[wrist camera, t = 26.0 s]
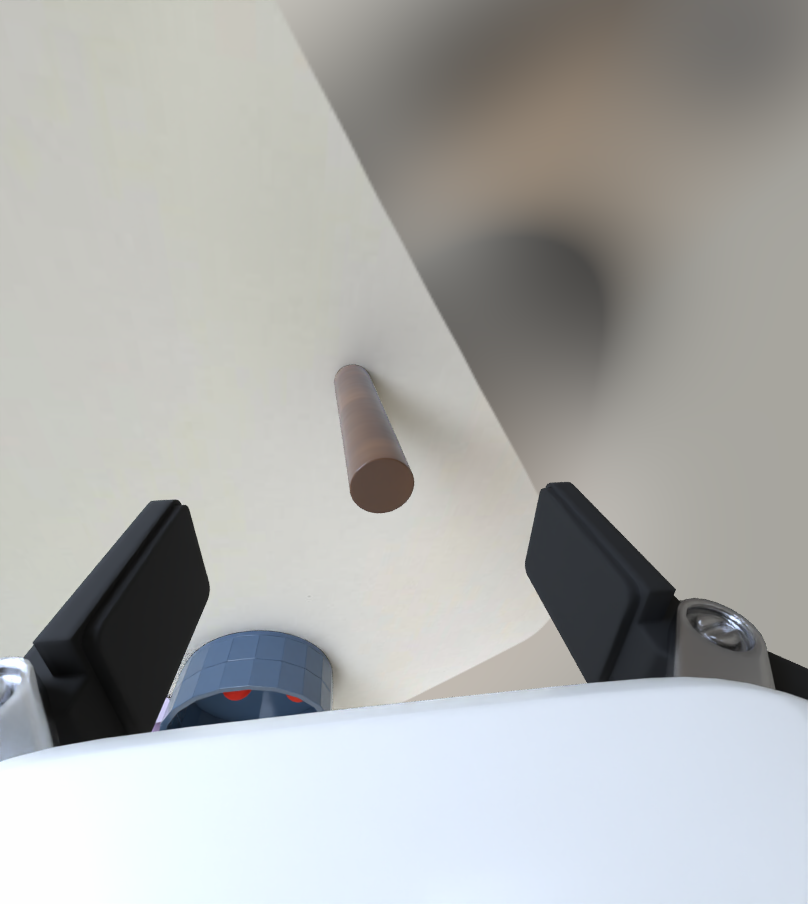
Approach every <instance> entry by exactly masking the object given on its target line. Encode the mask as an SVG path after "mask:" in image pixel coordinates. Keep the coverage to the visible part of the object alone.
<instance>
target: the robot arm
mask: <svg viewBox="0 0 808 904" xmlns="http://www.w3.org/2000/svg"><path fill="white" fill-rule="evenodd" d="M525 569H526V573H527V575H528V577H529V579H530V581H531V583H532V584H533V586H534V588H535V590H536V592H537V593H538V595H539V597H540V599H541V601H542V602H543V604H544V606H545V608H546V610H547V611H548V613H549V615H550V617H551V619H552V621H553V622H554V624H555V626H556V628H557V630H558V631H559V633H560V635H561V637H562V639H563V640H564V642H565V644H566V646H567V647H568V649H569V651H570V653H571V655H572V657H573V658H574V660H575V662H576V663H577V666H578V667H579V669H580V671H581V673H582V675H583V676H584V678H585V680H586V682H587V683H585V684H575V685H565V686H556V687H546V688H538V689H537V688H536V689H527V690H517V691H507V692H498V693H488V694H479V695H469V696H460V697H451V698H442V699H432V700H423V701H414V702H405V703H396V704H387V705H378V706H369V707H360V708H351V709H341V710H332V711H323V712H315V713H306V714H297V715H289V716H280V717H272V718H263V719H254V720H246V721H237V722H228V723H220V724H211V725H202V726H194V727H186V728H179V729H171V730H163V731H156V732H152V730H153V728H154V725H155V723H156V720H157V718H158V716H159V713H160V711H161V709H162V706H163V704H164V702H165V699H166V697H167V694H168V692H169V690H170V687H171V685H172V683H173V680H174V678H175V676H176V673H177V671H178V668H179V666H180V664H181V661H182V659H183V657H184V654H185V652H186V650H187V647H188V645H189V643H190V640H191V638H192V635H193V633H194V631H195V628H196V626H197V624H198V621H199V619H200V617H201V614H202V612H203V609H204V607H205V605H206V602H207V600H208V597H209V591H210V586H209V581H208V577H207V574H206V570H205V566H204V563H203V559H202V555H201V551H200V548H199V544H198V540H197V537H196V533H195V529H194V526H193V522H192V518H191V515H190V511H189V508H188V507H187V506H186V505H181V503H180V502H179V501H178V500H158V501H151V502H150V503H148V505H147V506H146V507H145V508H144V509H143V511H142V512H141V513H140V514H139V515H138V517H137V518H136V519H135V520H134V521H133V523H132V524H131V525H130V526H129V527H128V529H127V530H126V531H125V532H124V533H123V535H122V536H121V537H120V538H119V539H118V541H117V542H116V543H115V544H114V545H113V547H112V548H111V549H110V550H109V551H108V553H107V554H106V555H105V556H104V557H103V559H102V560H101V561H100V562H99V563H98V565H97V566H96V567H95V568H94V569H93V571H92V572H91V573H90V574H89V575H88V577H87V578H86V579H85V580H84V581H83V583H82V584H81V585H80V586H79V587H78V589H77V590H76V591H75V592H74V593H73V595H72V596H71V597H70V598H69V599H68V601H67V602H66V603H65V604H64V605H63V607H62V608H61V609H60V610H59V612H58V613H57V614H56V615H55V616H54V618H53V619H52V620H51V621H50V622H49V624H48V625H47V626H46V627H45V628H44V630H43V631H42V632H41V633H40V634H39V636H38V637H37V638H36V639H35V640H34V642H33V644H34V645H33V647H32V648H31V649H30V650H29V651H28V653H27V654H26V655H25V656H24V658H21V657H4V658H0V904H808V669H807V668H805V667H802V666H800V665H798V664H796V663H793V662H791V661H789V660H786V659H784V658H782V657H780V656H777V655H775V654H773V653H771V652H768V651H767V647H766V643H765V641H764V639H763V637H762V635H761V633H760V632H759V631H758V630H757V629H756V627H755V626H754V625H753V624H752V623H750V622H749V621H748V620H747V619H746V618H744V617H743V616H742V615H740V614H738V613H737V612H735V611H734V610H732V609H730V608H728V607H725V606H724V605H721V604H719V603H716V602H713V601H710V600H706V599H698V598H691V599H686V600H684V601H682V602H680V601H679V600H678V599H677V598H676V597H675V596H674V593H675V590H676V589H675V588H674V587H673V586H672V585H671V584H670V583H669V582H668V581H667V580H666V579H665V578H664V577H663V576H662V575H661V574H660V573H659V572H658V571H657V570H656V569H655V568H654V567H653V566H652V565H651V564H650V563H649V562H648V561H647V560H646V559H645V558H644V556H643V555H642V554H640V552H638V551H637V549H636V548H635V547H634V546H633V545H632V544H631V543H630V542H629V541H628V540H627V539H626V538H625V537H624V536H623V535H622V534H621V533H620V532H619V531H618V530H617V529H616V528H615V527H614V526H613V525H612V524H611V523H610V522H609V521H608V520H607V519H606V518H605V517H604V516H603V515H602V514H601V513H600V512H599V511H598V509H597V508H596V507H594V505H593V504H592V503H591V502H590V501H589V500H588V499H587V498H586V497H585V496H584V495H583V494H582V493H581V492H580V491H579V490H578V489H577V488H576V487H575V486H574V485H573V484H571V483H570V482H558V483H549V484H547V486H546V488H543V489H541V491H540V494H539V499H538V503H537V508H536V513H535V518H534V522H533V527H532V532H531V537H530V541H529V546H528V551H527V556H526V560H525Z"/></svg>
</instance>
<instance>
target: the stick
mask: <svg viewBox="0 0 808 904" xmlns="http://www.w3.org/2000/svg"><path fill="white" fill-rule="evenodd" d="M334 385H335V391H336V398H337V405H338V412H339V419H340V426H341V433H342V440H343V446H344V453H345V460H346V467H347V474H348V481H349V488H350V493H351V496H352V499H353V500H354V502H355V503H356V504H357V505H358V506H359V507H360V508H362V509H364V510H366V511H368V512H372V513H386V512H390V511H393V510H395V509H397V508H399V507H400V506H402V505H403V504H404V503H405V502H406V501H407V500H408V499H409V497H410V496H411V494H412V491H413V488H414V477H413V474H412V472H411V469H410V467H409V465H408V462H407V460H406V458H405V455H404V453H403V451H402V449H401V446H400V444H399V442H398V439H397V437H396V435H395V433H394V430H393V428H392V426H391V423H390V421H389V419H388V416H387V414H386V412H385V410H384V407H383V405H382V403H381V400H380V398H379V396H378V394H377V391H376V389H375V387H374V384H373V382H372V380H371V377H370V375H369V373H368V372H367V371H366V370H365V369H364V368H363V367H361V366H359V365H347V366H344V367H343V368H341V369H340V370H339V371H338V372H337V374H336V376H335V380H334Z"/></svg>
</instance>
